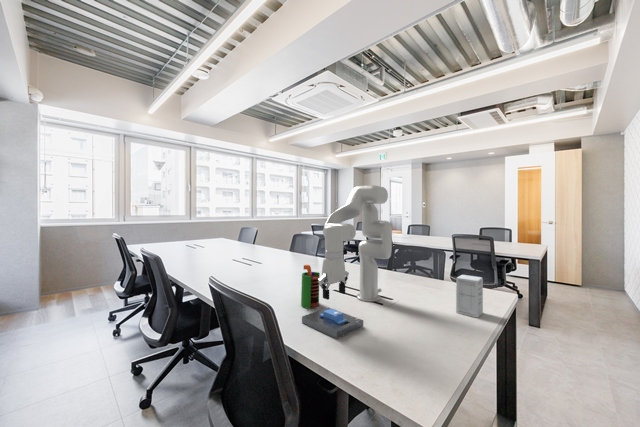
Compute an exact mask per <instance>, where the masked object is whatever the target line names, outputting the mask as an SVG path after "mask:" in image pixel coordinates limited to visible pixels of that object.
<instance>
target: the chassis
mask: <svg viewBox="0 0 640 427" xmlns="http://www.w3.org/2000/svg"><path fill="white" fill-rule="evenodd" d="M329 309H333V310H336V311H338V312H341V313H343V318H344V319H347V322H344V324H345V325H343V326H342V325H340V324H333V323H331V322H328V321H326V320H324V319H323V317H321V316H320V314H322V313H323V311H326V310H329ZM301 323H302V324H304V325H305V326H308V327H310V328H312V329H314V330H316V331H318V332H321V333H323V334H325V335H327V336H330V337H331V338H333V339H336V340H337V339H341V338H342V337H344V336H347V335H349V334H351V333H354V332H355V331H357V330H359V329H363V328H364V319H361V318H358V317H355V316H352V315H351V314H347V313H344V312H342V311H339V310H337V309H334V308H330V307H326V308H324V309H320V310H317V311H315V312H312V313H308V314H306V315H302V316H301Z"/></svg>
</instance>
